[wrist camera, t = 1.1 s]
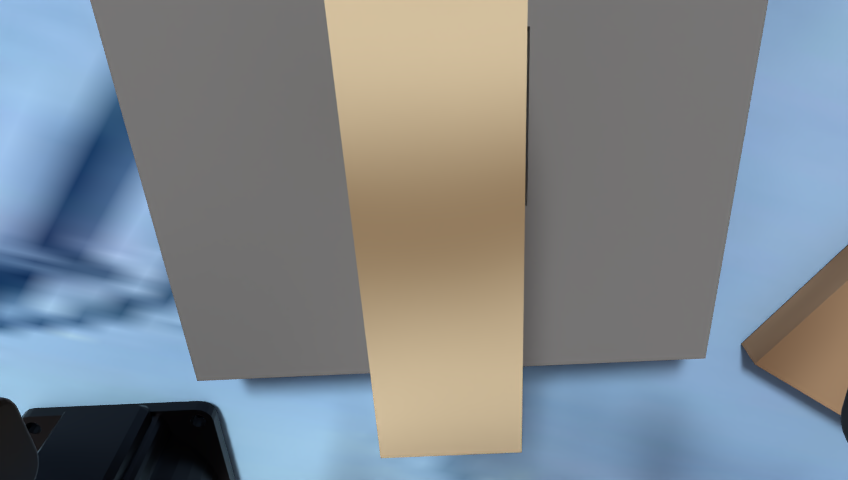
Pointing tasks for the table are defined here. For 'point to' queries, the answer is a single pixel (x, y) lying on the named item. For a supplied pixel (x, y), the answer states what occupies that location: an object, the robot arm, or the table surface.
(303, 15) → the keyhole plate
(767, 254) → the table surface
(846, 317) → the walnut pad
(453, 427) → the t key
